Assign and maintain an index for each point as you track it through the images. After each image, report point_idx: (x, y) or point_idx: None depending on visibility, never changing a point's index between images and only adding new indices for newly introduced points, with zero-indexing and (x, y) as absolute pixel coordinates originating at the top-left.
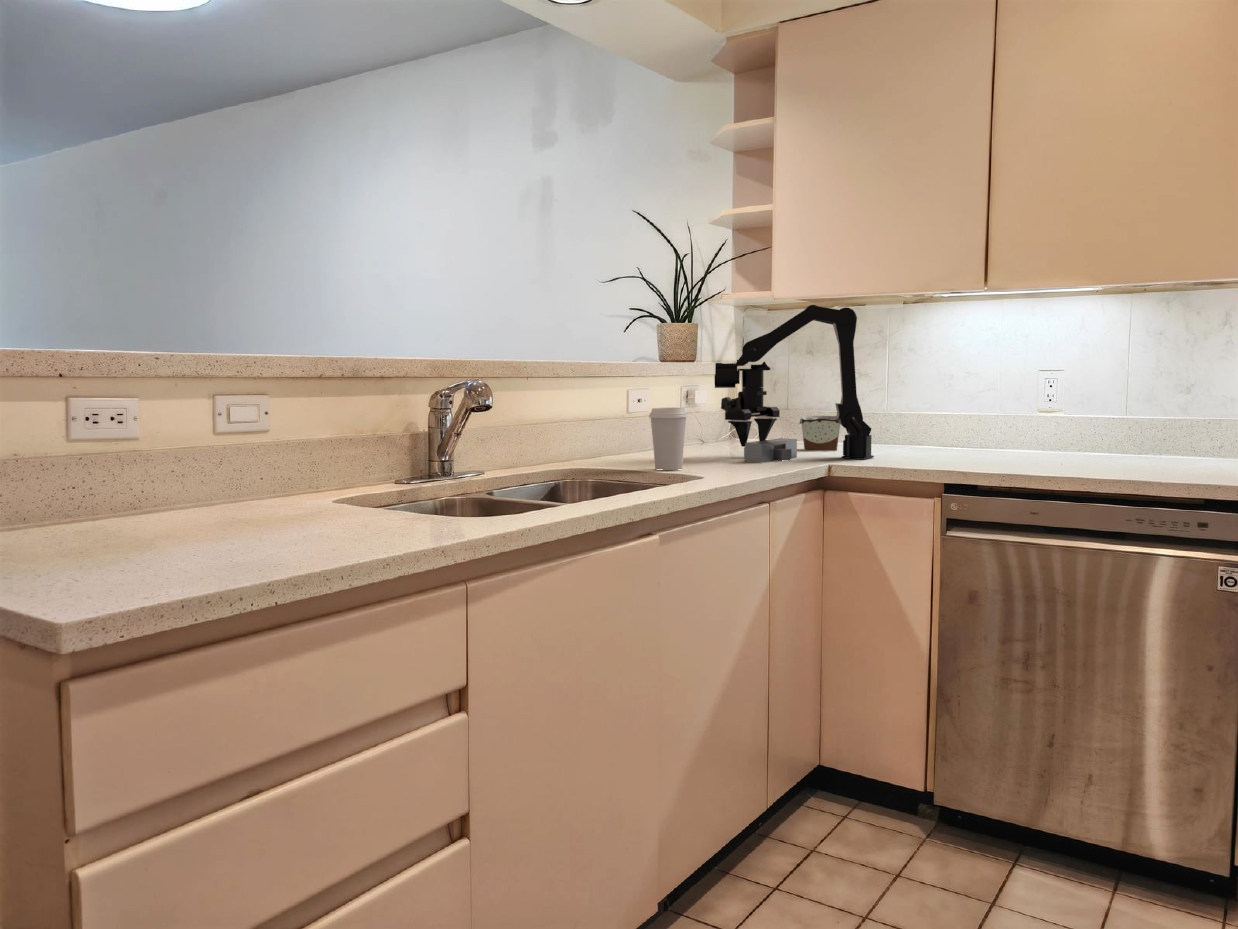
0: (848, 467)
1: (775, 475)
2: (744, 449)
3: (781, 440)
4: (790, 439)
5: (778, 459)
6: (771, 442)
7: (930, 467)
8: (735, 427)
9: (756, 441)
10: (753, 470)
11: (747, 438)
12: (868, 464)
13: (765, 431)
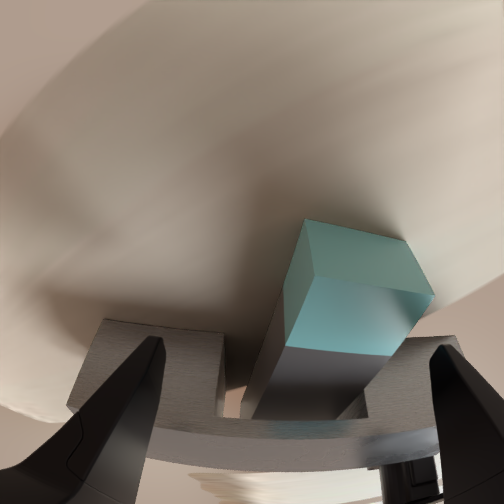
0: (204, 474)
1: (16, 410)
2: (312, 264)
3: (326, 466)
4: (397, 460)
5: (243, 400)
6: (192, 464)
7: (278, 499)
8: (25, 465)
9: (185, 434)
10: (9, 380)
11: (148, 424)
12: (278, 481)
13: (450, 453)
